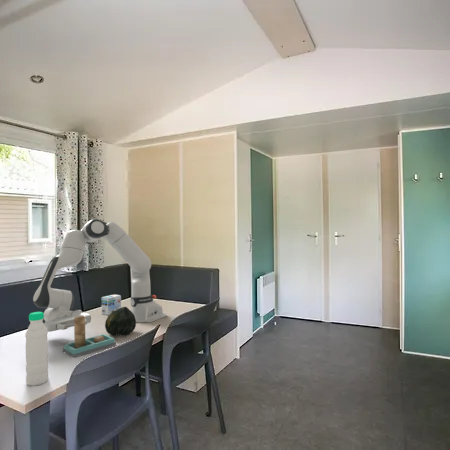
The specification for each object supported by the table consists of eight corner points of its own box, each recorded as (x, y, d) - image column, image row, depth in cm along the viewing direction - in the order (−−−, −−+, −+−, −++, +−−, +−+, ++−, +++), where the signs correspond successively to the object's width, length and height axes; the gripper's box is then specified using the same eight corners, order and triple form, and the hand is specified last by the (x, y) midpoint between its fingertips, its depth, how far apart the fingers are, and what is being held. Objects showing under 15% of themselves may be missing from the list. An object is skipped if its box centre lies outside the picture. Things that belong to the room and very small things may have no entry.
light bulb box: (108, 315, 209) (107, 298, 209) (101, 314, 213) (100, 297, 213) (121, 311, 218) (121, 295, 218) (114, 310, 222) (114, 294, 222)
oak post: (82, 345, 153) (82, 315, 153) (87, 348, 150) (86, 316, 150) (72, 348, 150) (72, 317, 150) (77, 350, 147) (76, 319, 147)
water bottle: (53, 379, 123) (51, 311, 123) (36, 387, 116) (35, 316, 116) (38, 376, 125) (37, 309, 125) (21, 385, 119) (20, 314, 119)
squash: (100, 321, 176) (107, 303, 169) (127, 317, 185) (135, 300, 178) (106, 345, 168) (113, 327, 160) (135, 340, 177) (143, 323, 169)
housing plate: (104, 339, 165) (104, 332, 165) (116, 344, 157) (115, 337, 157) (62, 351, 150) (62, 343, 150) (73, 357, 142) (72, 349, 142)
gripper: (39, 317, 155) (51, 323, 146) (83, 309, 170) (96, 313, 161) (40, 331, 155) (51, 338, 146) (83, 321, 170) (96, 326, 161)
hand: (75, 325), depth 154 cm, fingers open, 8 cm apart
